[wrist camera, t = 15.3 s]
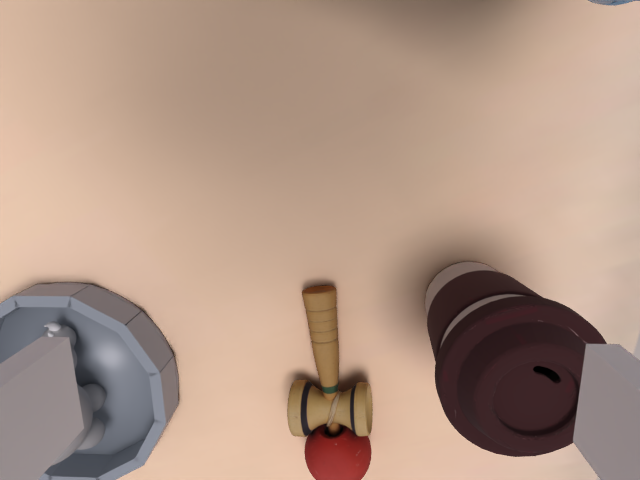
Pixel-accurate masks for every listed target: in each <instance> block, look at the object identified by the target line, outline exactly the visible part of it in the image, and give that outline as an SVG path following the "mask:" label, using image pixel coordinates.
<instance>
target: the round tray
mask: <svg viewBox="0 0 640 480" xmlns="http://www.w3.org/2000/svg"><path fill="white" fill-rule="evenodd" d="M52 321H54V322H57V323H59V324H63V325H66V326H68V327H70V328H72V329H73V330H74V332H75V334H76V343H75V345H74V347H73V348H74V350H75V352H76V355H77V365H76V368H75V376H76V382H77V384H78V385H79V386H81V387H83V386H85V385H88V384H98V385H100V386H101V387H102V388H103V389H104V391H105V394H106V400H105V402H104V404H103V406H102V407H101V408H100V409H99V410H97V411H95V412H93V417H96V418H98V419H99V420H101V421H102V422H103V424H104V426H105V434H104V437H103V439H102V440H101V441H100V442H99V443H98V444H97V445H95V446H94V447H91V448H88V449H84V450H76V451H75V452H74V453H72V454H71V455H70V456H69V457H67V458H66V459H64V460H63V461H61V462H59V463H57V464H55V465H52V466H50V467H49V468H48V469H47V470H46V471H45V472H44V474H43V475H42V476H41V477H40V478H39V479H38V480H116V479H118V478H120V477H122V476H124V475H126V474H128V473H130V472H131V471H133V470H135V469H137V468H139V467H141V466H143V465H144V464H145V462H146V461H147V459H148V458H149V456H150V454H151V453H152V451H153V449H154V448H155V446H156V445H157V443H158V441H159V439H160V438H161V436H162V434H163V432H164V430H165V428H166V426H167V425H168V423H169V421H170V420H171V417H172V415H173V413H174V412H175V410H176V408H177V406H178V404H179V402H178V392H179V376H178V371H177V365H176V362H175V359H174V355H173V353H172V350H171V348H170V346H169V344H168V342H167V340H166V339H165V337H164V335H163V334H162V332H161V331H160V329H159V328H158V327H157V326H156V325H155V323H154V322H153V321H152V320H151V319H150V318H149V317H148V316H147V315H146V314H145V313H144V312H143V311H142V310H141V309H139V308H138V307H137V306H135V305H134V304H133V303H132V302H130V301H128V300H127V299H125V298H123V297H122V296H120V295H118V294H116V293H113V292H111V291H109V290H107V289H104V288H101V287H97V286H94V285H90V284H84V283H75V282H60V283H52V284H36V285H34V286H32V287H30V288H28V289H26V290H24V291H22V292H20V293H18V294H16V295H14V296H12V297H10V298H9V299H7V300H5V301H4V302H2V303H1V304H0V364H1V363H2V362H4V361H5V360H7V359H8V358H10V357H11V356H12V355H14V354H16V353H17V352H19V351H20V350H22V349H23V348H25V347H26V346H28V345H29V344H31V343H32V342H34V341H35V340H37V339H39V338H40V337H41V336H42V335H43V333H44V332H45V331H46V330H47V329H48V327H44V326H45V325H46V324H47V323H49V322H52Z"/></svg>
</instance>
